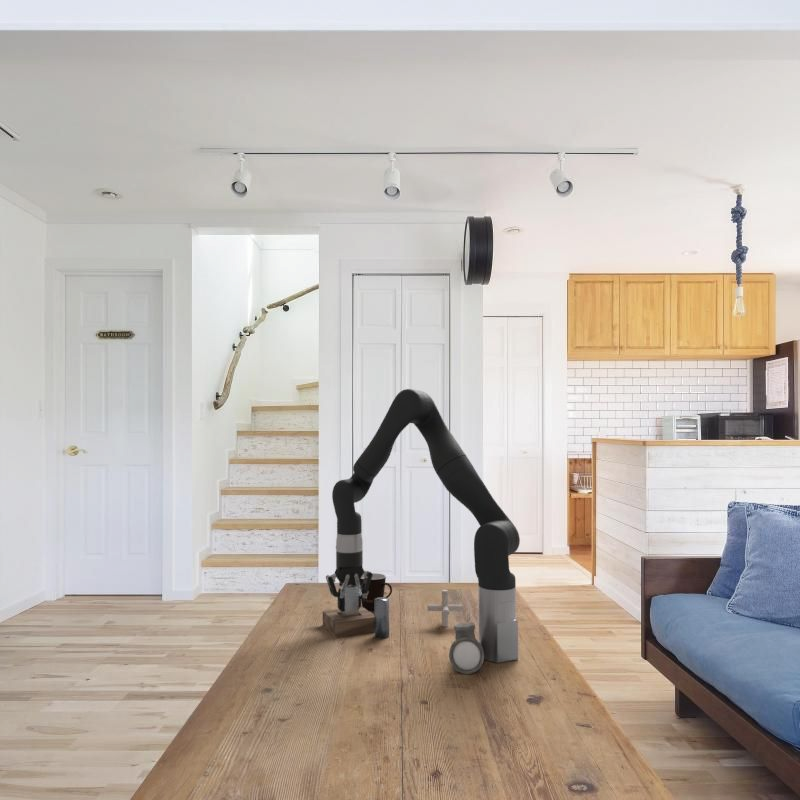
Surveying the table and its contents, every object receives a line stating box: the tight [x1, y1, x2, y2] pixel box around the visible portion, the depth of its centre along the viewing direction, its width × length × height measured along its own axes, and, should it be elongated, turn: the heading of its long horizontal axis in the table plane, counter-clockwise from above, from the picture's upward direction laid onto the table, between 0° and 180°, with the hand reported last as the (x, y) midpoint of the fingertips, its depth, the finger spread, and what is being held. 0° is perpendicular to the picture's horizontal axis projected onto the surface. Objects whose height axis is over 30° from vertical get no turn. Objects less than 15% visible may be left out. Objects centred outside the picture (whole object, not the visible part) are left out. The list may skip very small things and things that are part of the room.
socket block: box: [322, 605, 375, 638], centre depth 185 cm, size 12×12×4 cm
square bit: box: [340, 585, 359, 618], centre depth 185 cm, size 4×4×10 cm
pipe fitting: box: [448, 622, 485, 675], centre depth 156 cm, size 12×8×10 cm
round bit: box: [373, 596, 390, 640], centre depth 178 cm, size 4×4×10 cm
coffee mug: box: [359, 572, 393, 612], centre depth 203 cm, size 12×9×10 cm
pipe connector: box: [427, 589, 464, 628], centre depth 186 cm, size 10×10×10 cm
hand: (349, 609), depth 185 cm, fingers closed on square bit, 4 cm apart
